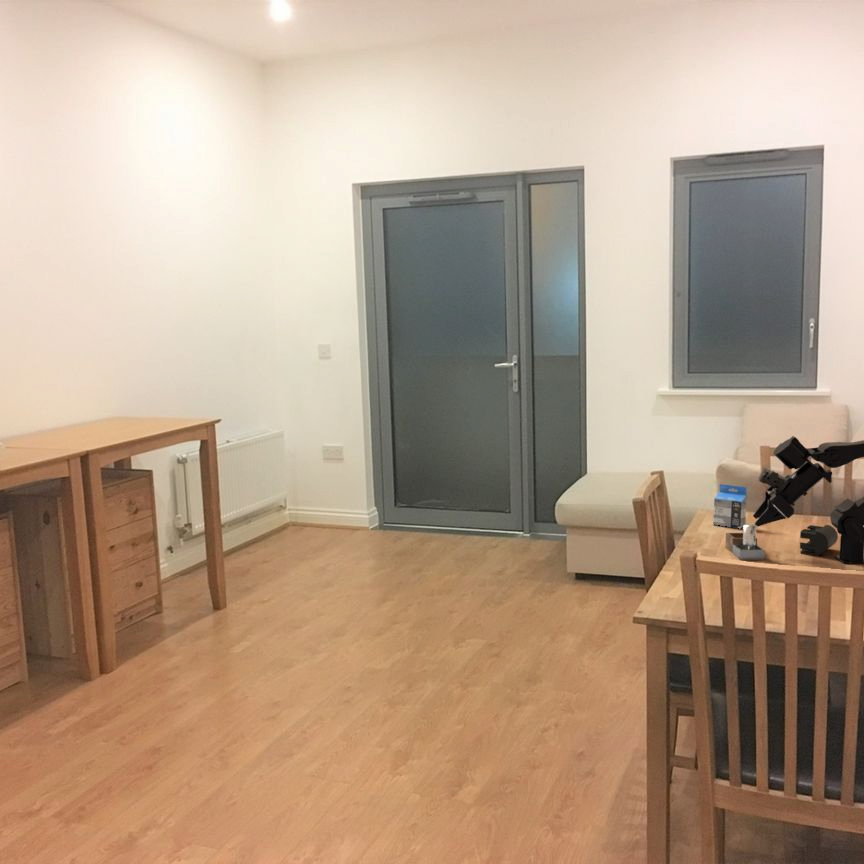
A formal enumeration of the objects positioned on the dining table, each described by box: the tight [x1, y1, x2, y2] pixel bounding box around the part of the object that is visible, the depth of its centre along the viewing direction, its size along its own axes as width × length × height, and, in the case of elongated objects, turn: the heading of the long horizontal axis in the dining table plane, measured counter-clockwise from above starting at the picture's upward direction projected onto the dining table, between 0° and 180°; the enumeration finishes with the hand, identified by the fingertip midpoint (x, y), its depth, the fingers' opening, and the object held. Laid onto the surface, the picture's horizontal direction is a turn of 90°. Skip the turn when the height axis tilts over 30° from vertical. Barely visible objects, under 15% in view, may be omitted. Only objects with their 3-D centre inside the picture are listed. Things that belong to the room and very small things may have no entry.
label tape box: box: [712, 483, 748, 530], centre depth 276 cm, size 9×4×12 cm, turn 48°
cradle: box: [732, 543, 766, 561], centre depth 242 cm, size 6×6×2 cm
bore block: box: [725, 532, 758, 554], centre depth 249 cm, size 6×6×4 cm
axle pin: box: [742, 523, 757, 550], centre depth 242 cm, size 3×3×8 cm
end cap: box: [799, 524, 839, 557], centre depth 246 cm, size 10×7×7 cm
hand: (755, 521), depth 241 cm, fingers open, 9 cm apart
